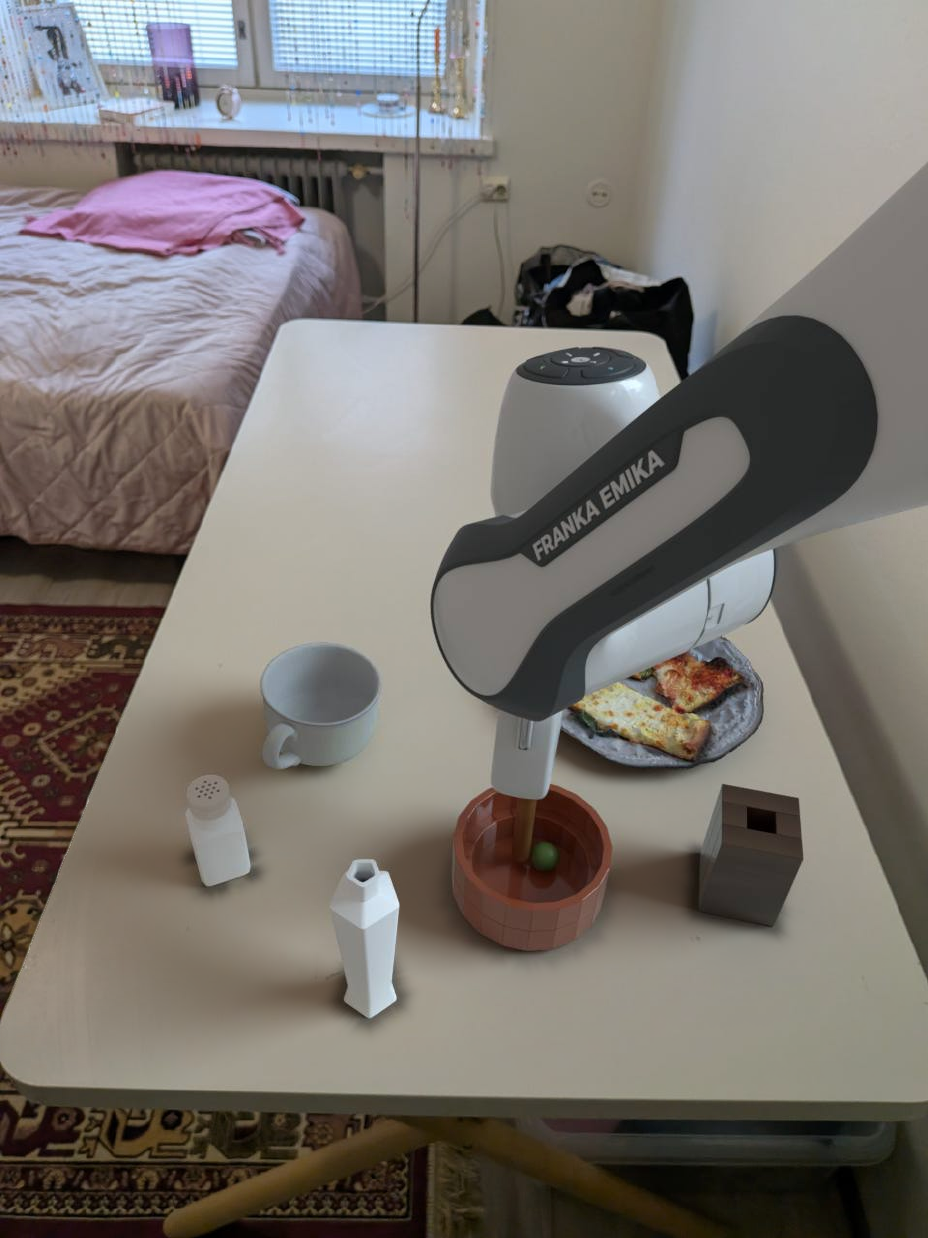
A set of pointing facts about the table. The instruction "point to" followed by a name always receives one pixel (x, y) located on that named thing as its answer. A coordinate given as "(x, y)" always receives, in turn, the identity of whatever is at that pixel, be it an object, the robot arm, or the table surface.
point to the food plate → (673, 710)
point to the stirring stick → (523, 828)
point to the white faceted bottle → (366, 935)
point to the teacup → (318, 705)
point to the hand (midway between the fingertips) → (534, 741)
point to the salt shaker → (216, 830)
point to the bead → (544, 856)
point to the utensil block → (750, 854)
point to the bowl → (530, 870)
